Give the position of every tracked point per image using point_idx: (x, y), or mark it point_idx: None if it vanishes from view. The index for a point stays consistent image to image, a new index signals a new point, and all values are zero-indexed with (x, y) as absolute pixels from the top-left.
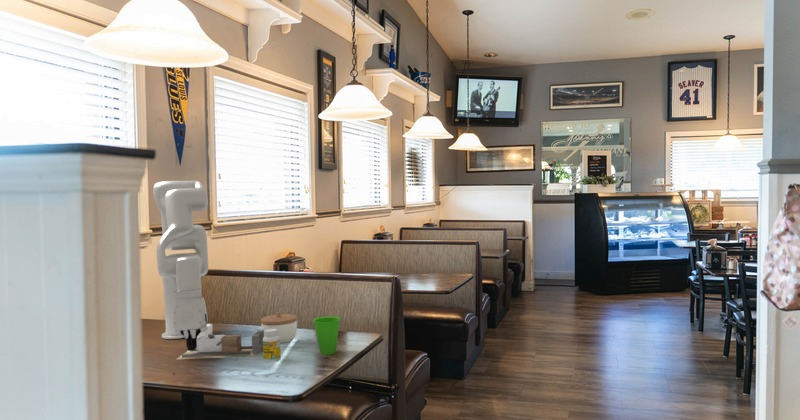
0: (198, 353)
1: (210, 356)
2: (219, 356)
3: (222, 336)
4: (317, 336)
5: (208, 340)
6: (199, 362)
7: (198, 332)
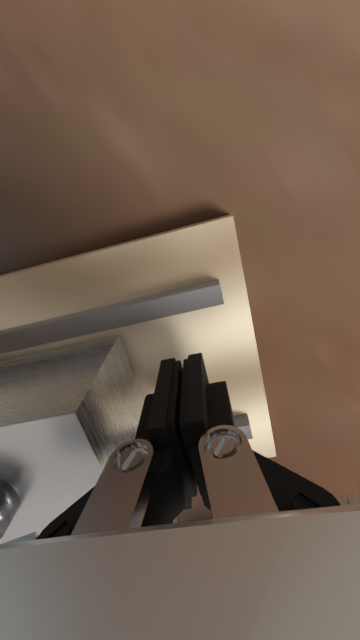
0: (97, 330)
1: (2, 319)
2: None
3: None
4: None
5: None
6: (57, 253)
7: (64, 522)
